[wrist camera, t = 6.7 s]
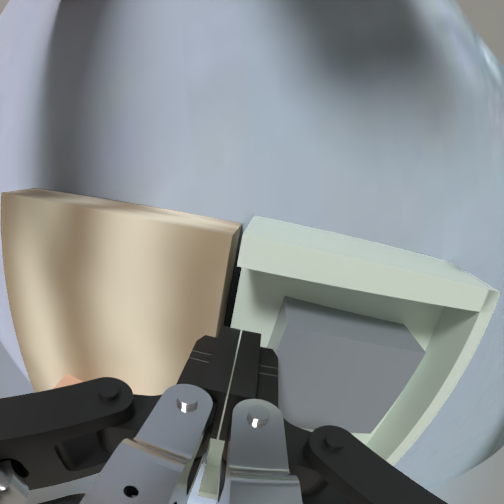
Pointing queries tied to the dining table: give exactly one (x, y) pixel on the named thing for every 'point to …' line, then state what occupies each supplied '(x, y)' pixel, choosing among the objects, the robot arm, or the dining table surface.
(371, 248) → the box
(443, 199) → the dining table surface
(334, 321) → the slate tile
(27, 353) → the plate
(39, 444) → the robot arm
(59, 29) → the dining table surface
